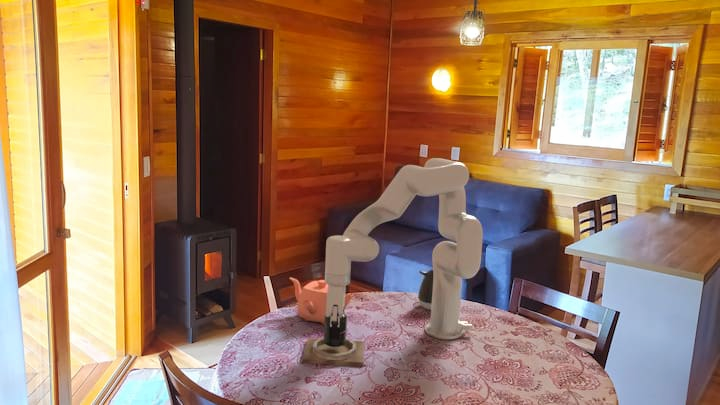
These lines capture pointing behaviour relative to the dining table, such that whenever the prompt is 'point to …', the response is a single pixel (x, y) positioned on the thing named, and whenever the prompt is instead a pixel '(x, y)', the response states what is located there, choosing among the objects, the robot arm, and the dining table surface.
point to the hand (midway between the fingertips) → (335, 333)
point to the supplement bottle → (342, 331)
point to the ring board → (334, 353)
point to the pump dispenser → (426, 289)
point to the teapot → (314, 300)
